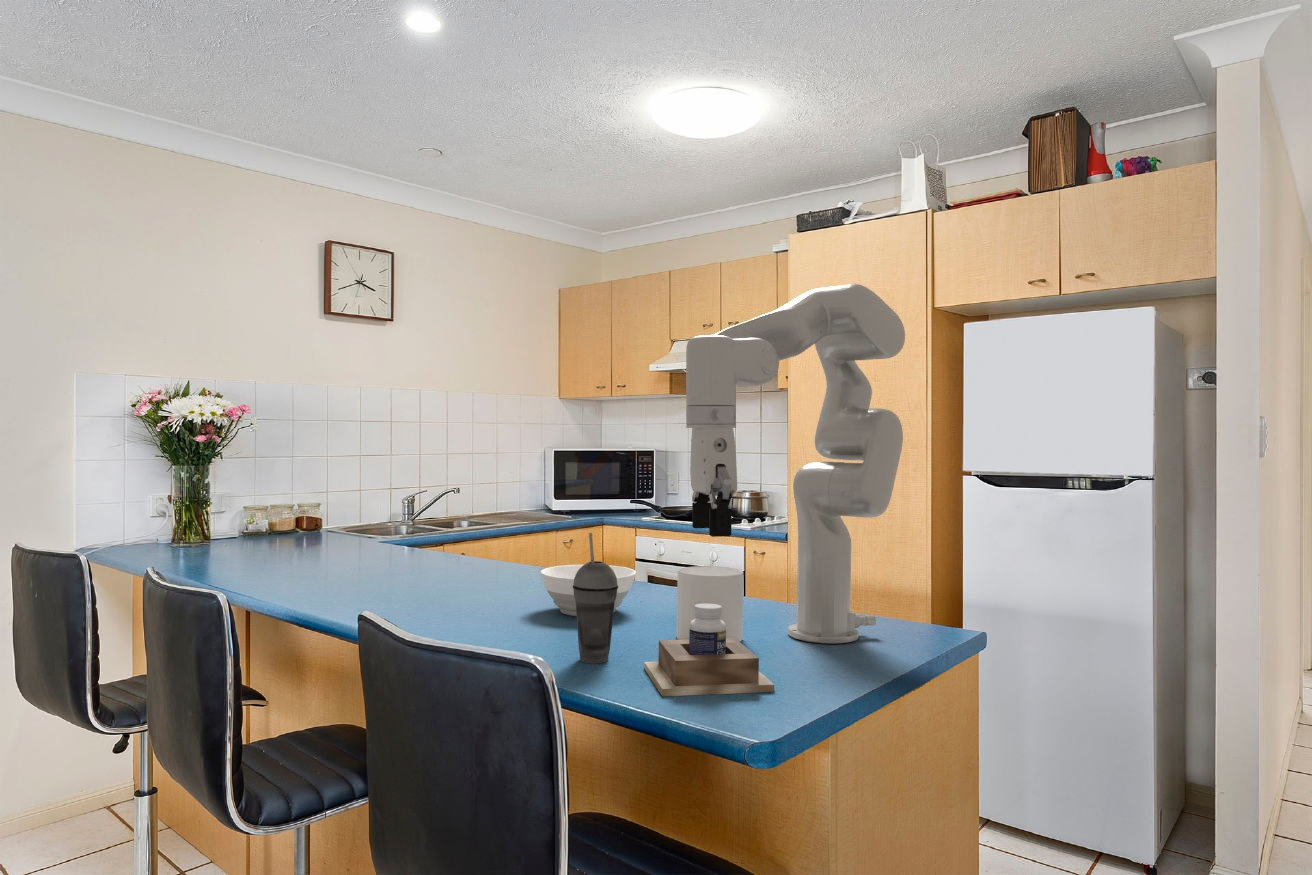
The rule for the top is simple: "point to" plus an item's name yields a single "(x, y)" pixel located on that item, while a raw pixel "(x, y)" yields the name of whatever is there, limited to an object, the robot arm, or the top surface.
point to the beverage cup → (594, 608)
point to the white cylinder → (710, 597)
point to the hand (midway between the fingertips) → (711, 531)
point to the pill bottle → (707, 631)
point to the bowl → (562, 583)
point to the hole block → (706, 670)
